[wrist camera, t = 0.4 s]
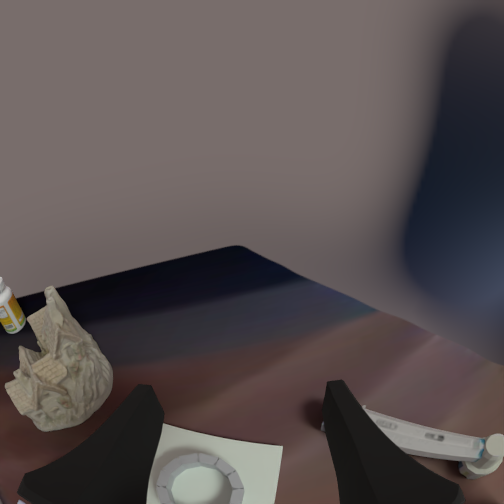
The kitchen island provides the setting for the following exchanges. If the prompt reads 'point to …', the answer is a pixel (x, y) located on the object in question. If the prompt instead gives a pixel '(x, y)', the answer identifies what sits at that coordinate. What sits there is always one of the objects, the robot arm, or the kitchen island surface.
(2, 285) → the supplement bottle
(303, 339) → the kitchen island surface
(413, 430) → the white handheld device
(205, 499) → the collar plate
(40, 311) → the ceramic cottage
